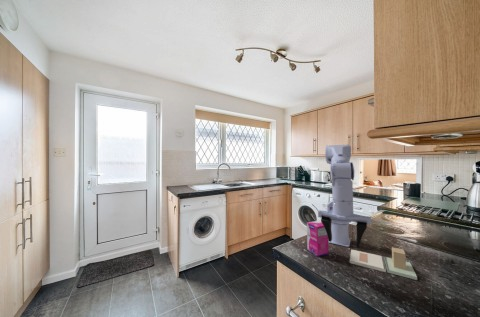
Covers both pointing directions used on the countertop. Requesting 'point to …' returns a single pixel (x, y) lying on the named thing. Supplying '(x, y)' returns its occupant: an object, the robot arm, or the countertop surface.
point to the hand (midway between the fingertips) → (343, 243)
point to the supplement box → (317, 238)
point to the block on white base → (399, 264)
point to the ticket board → (367, 260)
